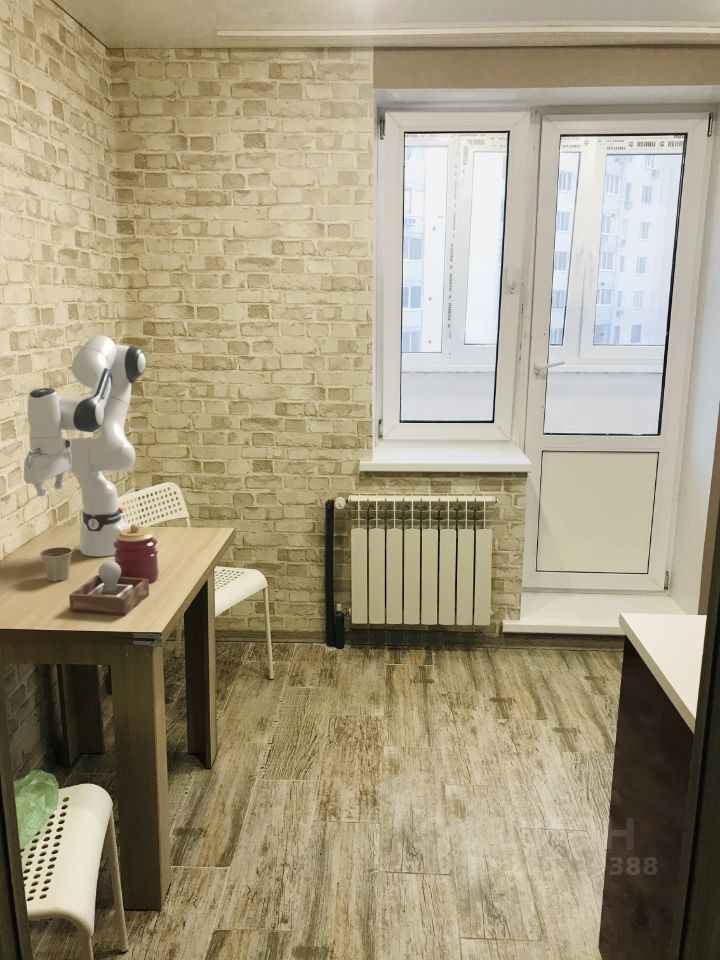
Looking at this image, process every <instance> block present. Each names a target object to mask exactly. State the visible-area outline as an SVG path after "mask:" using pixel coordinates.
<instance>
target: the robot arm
mask: <svg viewBox="0 0 720 960" xmlns="http://www.w3.org/2000/svg"><path fill="white" fill-rule="evenodd" d="M146 363H147V360H146V355H145V353H144V350H142V349H141V348H139V347H136V346H132V345H131V346H128V345H124V344H117V343H116V344H115V342H114V340H112V339H111V338H110V337H108V336H105V335H104V334H103V335H101V334H98V335H94V336H93V337H90V338H89V339H88V340H87V341H86V342H85V343H84V344H83V345H82V346H81V347H80V349H79V350H78V351H77V353H76V354H75V356H74V357H73V359H72V362H71V365H70V366H71V372H72V374H73V376H74V378H75V379H76V381H78V383H80V384H81V385H83V386H84V387H86V388H90V389H92V391H91V393H90V395H89V396H87V397H62V396H61V395H58V392H57V390H56V389H54V388H48V387H45V388H44V387H43V388H37V389H34V390H32V391H31V392H29V393H28V398H27V406H26V407H27V423H28V425H29V433H28V434H29V446H30V449H29V450H30V451H28V453H27V455H26V457H25V459H24V465H23V480H24V482H25V483H26V484H31V485H33V488H35V490H36V495H37V497H40V498H41V497H44V496H46V489H45V488H44V487H43V485H44V481H46V480H50V479H52V478H54V477H55V482H54V485H53V486H54V489H57V490H59V489H62V488H63V486H64V485H63V482H64V477H65V473H66V472H68V471H70V472H71V473H72V475H74V477H75V478H76V480H77V482H78V484H79V485H78V486H79V487H80V490H81V497H82V505H83V511H82V523H83V524H82V525H81V526H80V528H79V529H80V530H79V532H80V533H79V534H80V535H79V538H80V539H79V545H76V546H77V547H76V550H77V551H79V552H80V553H81V554H82V555H84V556H88V557H109V556H110V557H111V556H114V553H115V547H114V545H113V544H114V542H115V541H117V539H116V535H117V534H119V533H120V532H121V531H123V530H125V529H130V527H131V525H130V524H129V523H127V522H126V521H124V520H123V519H122V515H121V514H123V513H124V507H118V504H119V503H118V490H117V487H116V486H115V485H114V484H113V483H112V482H111V481H109V480H107V479H106V477H105V476H104V474H103V473H102V472H104V473H107V472H108V473H119V472H120V473H121V472H126V471H129V470H130V469H132V467H133V466H134V464H135V462H136V451H135V448H134V446H133V445H132V444H131V443H130V442H129V440H128V439H127V437H126V435H125V424H126V418H127V414H128V410H129V408H130V407H129V406H130V403H131V394H132V384H133V383H135V382H136V381H137V380H138V379H139V378H140V377H141V376H142V375H143V374H144V372H145V369H146ZM62 430H63V431H79V432H84V433H85V432H86V433H94V432H96V431H99V432H100V436H99V437H98V438H93V437H91V438H90V437H75V438H70V439H68V438H64V437H63V432H62Z"/></svg>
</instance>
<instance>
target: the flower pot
mask: <svg viewBox="0 0 720 960" xmlns="http://www.w3.org/2000/svg"><path fill="white" fill-rule="evenodd" d="M73 552H74V551H73V549H72V548H71V547H67V546H65V547H63V546H61V547H60V546H59V547H56V546H55V547H50V548H45V549H43V550H41V551H40V552H39V556H41V559H42V560H43V561H42V562H43V564H44V568H45V572H46V577H47V580H48V581H49V582H59V581H65V580H68V579H69V578H70V572H71V571H70V568H71V557H72V553H73Z"/></svg>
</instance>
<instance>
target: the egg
mask: <svg viewBox="0 0 720 960" xmlns="http://www.w3.org/2000/svg"><path fill="white" fill-rule="evenodd" d="M98 575H99V577H100V578H101V580H102V581H103V583H104V586H105V590H106V594H107V595H115V596H116V589H117V582H118V579H119V577H120V575H121V568H120V566H119V565H118V564H117V563H116V562H115V561H112V560H108V561H107V560H106V561H105V562H103V563H102V564H101V565H100V566H99V568H98Z"/></svg>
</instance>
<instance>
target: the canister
mask: <svg viewBox="0 0 720 960" xmlns="http://www.w3.org/2000/svg"><path fill="white" fill-rule="evenodd" d="M154 536H155V533H154V532H153V531H151V530H149V528H146V527H139V525H138V524H136V523H134V524H133V523H132V524H131V525H130V529H125V530H123V531H121V532H120V533H119V534H117V535H116V539H117V541H115V542H114V544H113V545H114V547H115V553H114V555H113V557H114V562H116V563H117V564H118V565H119V566H120V568H121V575H120V577H129V578H144V579H148V582H149V584H151V583H153V582H156V580H158V578H159V574H160V573H159V572H160V570H159V566H158V565H159V563H158V561H159V560H158V553H159V551H158V549H157V547H156V546H157V544H158V540H157V539H156V538H155V537H154Z"/></svg>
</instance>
